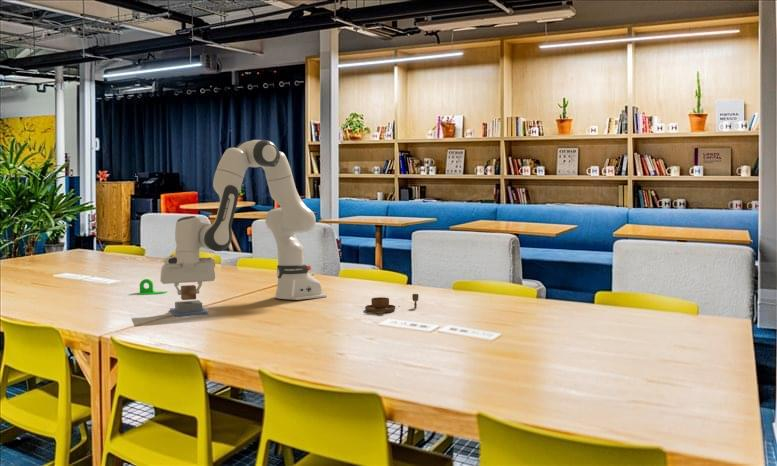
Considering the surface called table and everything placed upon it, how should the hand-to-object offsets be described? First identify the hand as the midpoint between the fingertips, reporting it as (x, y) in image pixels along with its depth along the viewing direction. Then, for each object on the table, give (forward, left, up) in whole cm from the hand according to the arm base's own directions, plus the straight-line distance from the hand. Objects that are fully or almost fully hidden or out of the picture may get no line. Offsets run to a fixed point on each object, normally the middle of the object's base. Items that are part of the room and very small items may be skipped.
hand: (188, 294), depth 257 cm
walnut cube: (0, 0, -2) cm, 2 cm away
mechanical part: (+9, -54, -8) cm, 55 cm away
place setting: (-72, +30, -8) cm, 79 cm away
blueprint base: (0, 0, -7) cm, 7 cm away
